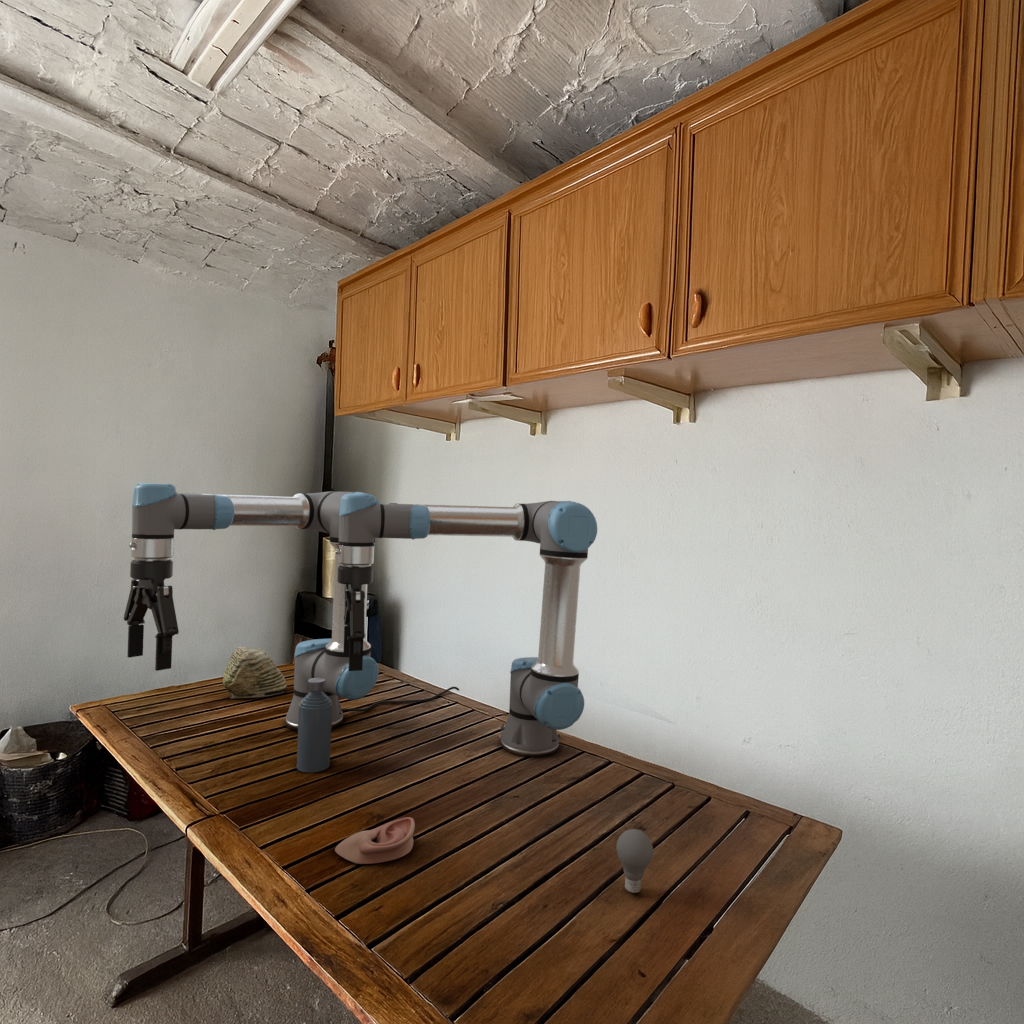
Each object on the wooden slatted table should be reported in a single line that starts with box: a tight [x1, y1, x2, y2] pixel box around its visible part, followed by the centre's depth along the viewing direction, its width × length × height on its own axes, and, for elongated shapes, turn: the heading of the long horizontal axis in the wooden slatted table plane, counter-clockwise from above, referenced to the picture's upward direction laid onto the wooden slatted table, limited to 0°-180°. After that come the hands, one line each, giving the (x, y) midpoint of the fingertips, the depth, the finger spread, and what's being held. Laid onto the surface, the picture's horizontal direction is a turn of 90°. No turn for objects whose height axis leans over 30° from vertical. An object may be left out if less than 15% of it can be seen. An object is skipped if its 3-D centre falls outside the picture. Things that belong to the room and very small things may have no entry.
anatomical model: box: [334, 816, 416, 865], centre depth 115 cm, size 13×4×12 cm
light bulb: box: [615, 828, 654, 894], centre depth 106 cm, size 6×6×10 cm
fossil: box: [222, 646, 288, 699], centre depth 198 cm, size 9×18×15 cm, turn 132°
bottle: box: [296, 690, 332, 774], centre depth 149 cm, size 8×8×20 cm
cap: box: [307, 678, 326, 691], centre depth 148 cm, size 4×4×2 cm
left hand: (148, 662), depth 129 cm, fingers open, 13 cm apart
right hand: (352, 662), depth 138 cm, fingers open, 13 cm apart
